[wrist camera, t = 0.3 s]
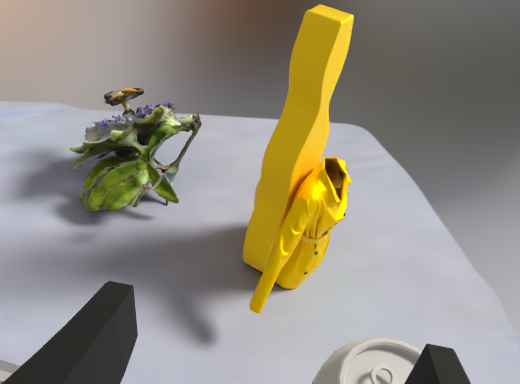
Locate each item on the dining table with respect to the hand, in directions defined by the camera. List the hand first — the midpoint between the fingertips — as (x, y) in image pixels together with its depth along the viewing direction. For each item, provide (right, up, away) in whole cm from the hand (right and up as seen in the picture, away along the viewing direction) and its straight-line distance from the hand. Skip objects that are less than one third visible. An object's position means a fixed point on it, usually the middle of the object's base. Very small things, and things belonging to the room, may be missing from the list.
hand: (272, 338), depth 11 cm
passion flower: (-12, +4, +34) cm, 36 cm away
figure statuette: (+1, -2, +31) cm, 31 cm away
